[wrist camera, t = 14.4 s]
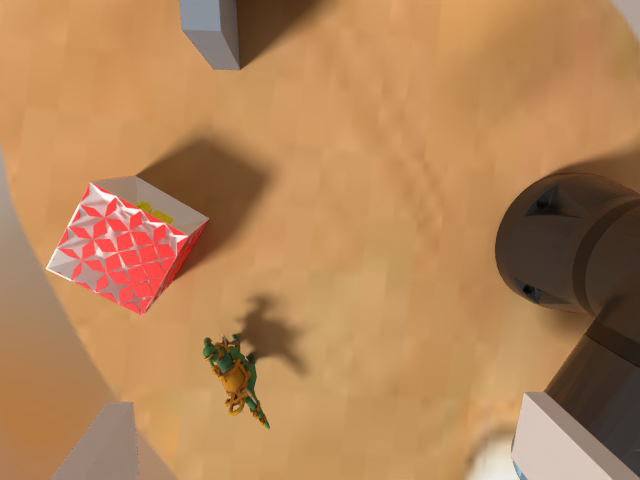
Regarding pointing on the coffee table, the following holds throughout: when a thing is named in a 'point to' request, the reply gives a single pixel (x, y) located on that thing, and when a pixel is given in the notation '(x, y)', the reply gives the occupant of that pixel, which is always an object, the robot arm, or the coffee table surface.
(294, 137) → the coffee table surface
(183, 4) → the grey slotted plate
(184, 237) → the red patterned cube
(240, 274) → the coffee table surface
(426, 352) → the coffee table surface
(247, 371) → the figurine
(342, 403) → the coffee table surface
